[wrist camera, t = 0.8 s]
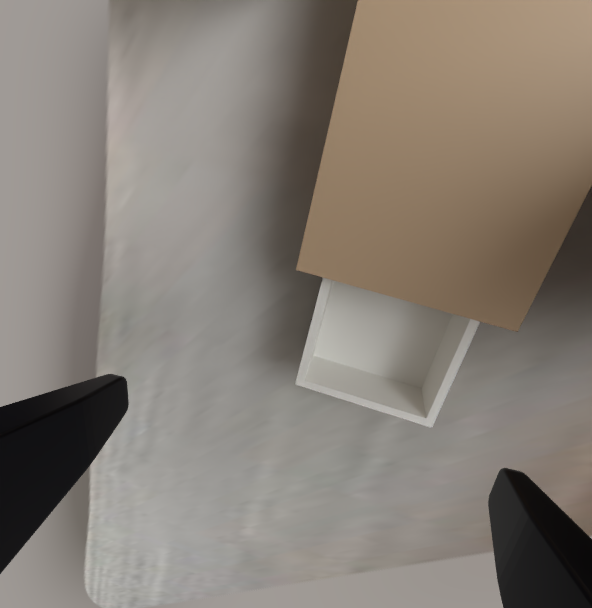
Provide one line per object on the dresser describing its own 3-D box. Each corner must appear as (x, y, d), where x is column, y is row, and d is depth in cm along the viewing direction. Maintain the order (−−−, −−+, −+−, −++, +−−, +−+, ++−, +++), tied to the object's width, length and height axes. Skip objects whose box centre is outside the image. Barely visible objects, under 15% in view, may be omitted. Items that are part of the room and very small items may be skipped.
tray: (569, 55, 14) (613, 30, 12) (425, 392, 21) (431, 427, 18) (395, 21, 15) (397, -10, 13) (306, 356, 21) (294, 384, 19)
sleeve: (686, -142, 13) (830, -288, 8) (488, 295, 19) (517, 332, 15) (417, -177, 14) (431, -321, 10) (313, 248, 20) (296, 270, 16)
